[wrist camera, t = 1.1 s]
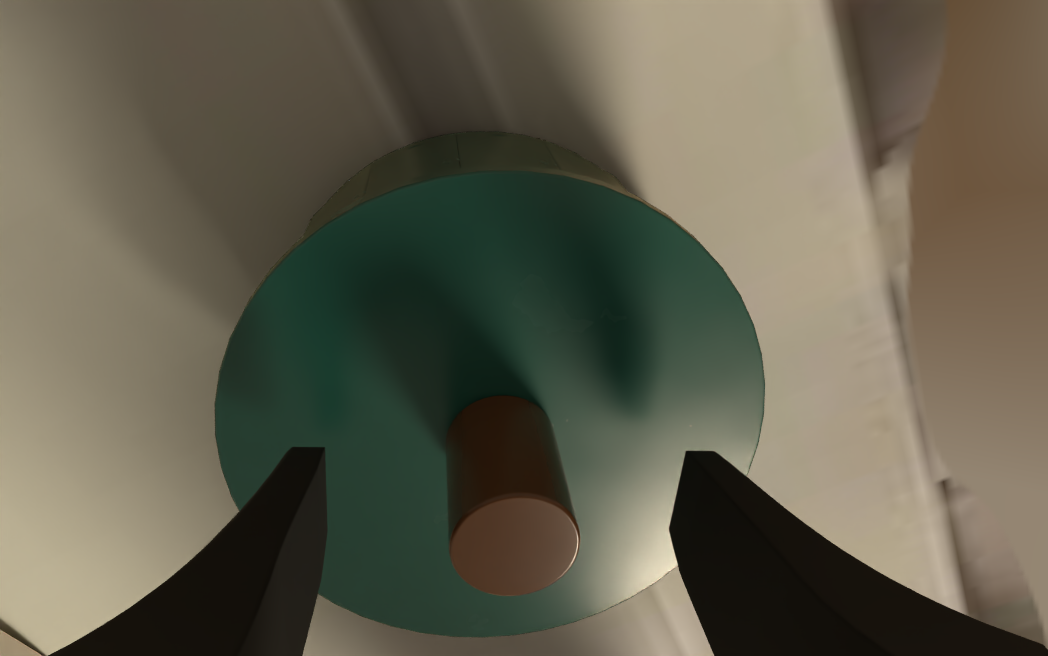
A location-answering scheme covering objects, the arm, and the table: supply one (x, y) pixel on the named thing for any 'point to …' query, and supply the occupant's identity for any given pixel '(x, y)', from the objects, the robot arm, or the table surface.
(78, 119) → the table surface
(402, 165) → the pot
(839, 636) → the robot arm
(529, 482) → the lid
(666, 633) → the table surface
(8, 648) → the cat figurine
